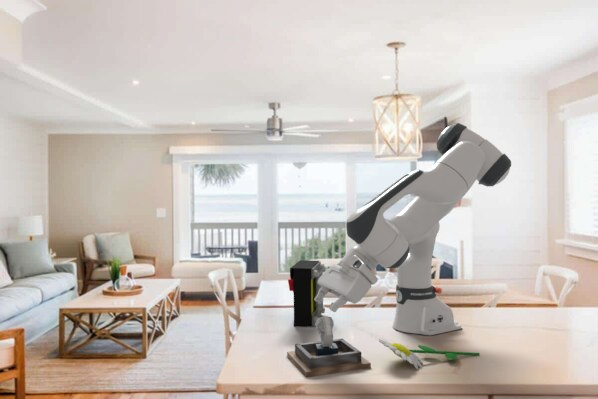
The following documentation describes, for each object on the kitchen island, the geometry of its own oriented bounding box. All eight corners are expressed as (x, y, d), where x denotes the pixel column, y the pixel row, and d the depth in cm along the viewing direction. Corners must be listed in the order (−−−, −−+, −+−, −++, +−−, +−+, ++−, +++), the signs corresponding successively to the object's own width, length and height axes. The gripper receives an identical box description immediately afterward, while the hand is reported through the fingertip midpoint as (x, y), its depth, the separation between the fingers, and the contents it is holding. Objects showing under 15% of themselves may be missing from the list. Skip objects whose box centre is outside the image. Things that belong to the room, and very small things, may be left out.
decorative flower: (464, 355, 143) (369, 351, 135) (466, 339, 142) (371, 334, 135) (491, 374, 130) (388, 370, 123) (494, 356, 130) (390, 351, 123)
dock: (345, 348, 143) (345, 336, 143) (370, 367, 128) (370, 353, 128) (287, 356, 137) (286, 343, 137) (306, 376, 122) (305, 362, 122)
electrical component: (318, 327, 165) (317, 268, 164) (288, 326, 167) (287, 268, 166) (325, 314, 182) (325, 260, 181) (298, 313, 184) (298, 260, 183)
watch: (334, 351, 137) (333, 312, 136) (339, 362, 129) (339, 320, 128) (314, 352, 136) (313, 313, 136) (318, 363, 128) (318, 321, 128)
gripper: (331, 255, 144) (301, 290, 141) (366, 265, 125) (332, 307, 122) (345, 269, 146) (315, 304, 143) (381, 281, 127) (348, 322, 124)
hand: (323, 306), depth 132 cm, fingers open, 8 cm apart
